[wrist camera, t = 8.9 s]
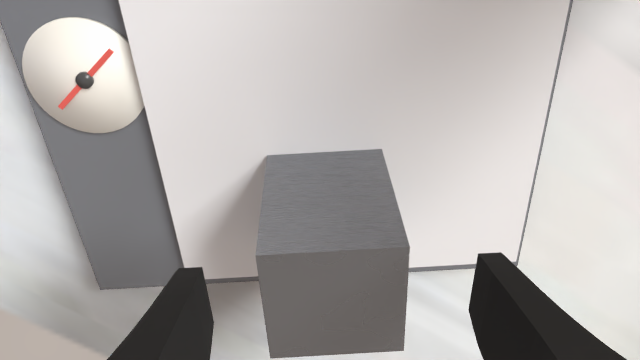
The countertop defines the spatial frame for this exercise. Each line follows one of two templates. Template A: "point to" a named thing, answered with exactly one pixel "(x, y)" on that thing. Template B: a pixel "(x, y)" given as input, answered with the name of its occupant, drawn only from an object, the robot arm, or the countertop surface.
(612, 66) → the countertop surface
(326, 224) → the block
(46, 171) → the countertop surface
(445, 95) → the scale
